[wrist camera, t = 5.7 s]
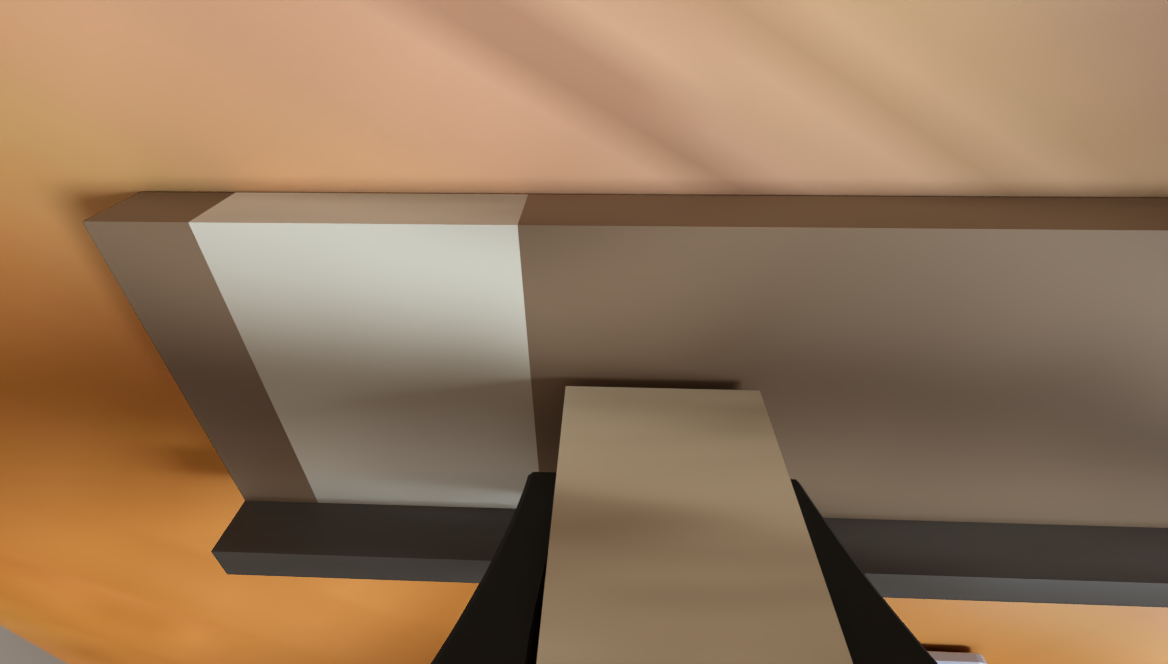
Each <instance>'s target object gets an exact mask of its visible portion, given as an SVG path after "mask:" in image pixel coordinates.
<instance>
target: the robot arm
mask: <svg viewBox="0 0 1168 664" xmlns="http://www.w3.org/2000/svg"><path fill="white" fill-rule="evenodd" d="M556 473H557V472H532V473H531V474H529V475H528V477H527V480H526V484H525V487H524V490H523V492H522V495H521V498H520V500H519V503H518V505H517V508H516V510H515V512H514V515H513V517H512V519H511V522H510V524H509V526H508V528H507V530H506V533H505V535H504V537H503V539H502V541H501V543H500V545H499V547H498V549H497V551H496V553H495V555H494V557H493V559H492V561H491V563H490V565H489V567H488V569H487V571H486V572H485V574H484V576H483V578H482V580H481V582H480V583H479V585H478V587H477V589H476V590H475V592H474V594H473V596H472V597H471V599H470V601H469V603H468V604H467V606H466V608H465V610H464V611H463V613H462V615H461V617H460V618H459V620H458V622H457V623H456V625H455V627H454V628H453V630H452V631H451V633H450V635H449V636H448V638H447V639H446V641H445V643H444V644H443V646H442V647H441V649H440V650H439V652H438V653H437V655H436V657H435V658H434V660H433V661H432V663H431V664H536V662H537V653H538V643H539V634H540V624H541V615H542V605H543V596H544V586H545V577H546V568H547V558H548V549H549V539H550V530H551V520H552V511H553V501H554V492H555V482H556ZM790 480H791V483H792V486H793V489H794V492H795V495H796V498H797V501H798V504H799V506H800V509H801V512H802V515H803V518H804V521H805V524H806V527H807V530H808V533H809V536H810V539H811V542H812V545H813V548H814V550H815V553H816V556H817V559H818V562H819V565H820V568H821V571H822V574H823V577H824V580H825V583H826V586H827V589H828V592H829V594H830V597H831V600H832V603H833V606H834V609H835V612H836V615H837V618H838V621H839V624H840V627H841V630H842V633H843V636H844V638H845V641H846V644H847V647H848V650H849V653H850V656H851V659H852V662H853V664H987V663H986V661H985V659H984V657H983V656H982V655H980V654H978V653H964V652H939V651H927V650H926V649H925V648H924V647H923V646H922V645H921V643H920V642H919V641H918V640H917V639H916V638H915V636H914V635H913V634H912V633H911V632H910V630H909V629H908V628H907V627H906V626H905V624H904V623H903V622H902V621H901V620H900V618H899V617H898V616H897V615H896V614H895V612H894V611H893V610H892V609H891V607H890V606H889V605H888V604H887V602H886V601H885V600H884V599H883V597H882V596H881V595H880V594H879V592H878V591H877V590H876V588H875V587H874V586H873V584H872V583H871V582H870V581H869V579H868V578H867V577H866V575H865V574H864V573H863V571H862V570H861V569H860V568H859V566H858V565H857V564H856V562H855V561H854V560H853V558H852V557H851V556H850V554H849V553H848V551H847V550H846V549H845V547H844V546H843V545H842V543H841V542H840V540H839V539H838V538H837V536H836V535H835V533H834V532H833V531H832V529H831V528H830V526H829V525H828V524H827V522H826V521H825V519H824V518H823V516H822V515H821V514H820V512H819V511H818V509H817V508H816V506H815V505H814V503H813V502H812V500H811V499H810V497H809V496H808V494H807V493H806V492H805V490H804V489H803V487H802V486H801V484H800V483H799V482H798V481H797V480H796V479H790Z"/></svg>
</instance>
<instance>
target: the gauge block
mask: <svg viewBox="0 0 1168 664" xmlns="http://www.w3.org/2000/svg"><path fill="white" fill-rule="evenodd" d="M536 664H853V662H852V659H851V656H850V653H849V650H848V647H847V644H846V641H845V638H844V636H843V633H842V630H841V627H840V624H839V621H838V618H837V615H836V612H835V609H834V606H833V603H832V600H831V597H830V594H829V592H828V589H827V586H826V583H825V580H824V577H823V574H822V571H821V568H820V565H819V562H818V559H817V556H816V553H815V550H814V548H813V545H812V542H811V539H810V536H809V533H808V530H807V527H806V524H805V521H804V518H803V515H802V512H801V509H800V506H799V504H798V501H797V498H796V495H795V492H794V489H793V486H792V483H791V480H790V477H789V474H788V471H787V468H786V465H785V462H784V460H783V457H782V454H781V451H780V448H779V445H778V442H777V439H776V436H775V433H774V430H773V427H772V424H771V421H770V418H769V416H768V413H767V410H766V407H765V404H764V401H763V398H762V395H761V392H760V390H717V389H673V388H629V387H585V386H566V388H565V397H564V407H563V416H562V426H561V435H560V445H559V454H558V463H557V473H556V482H555V492H554V501H553V511H552V520H551V530H550V539H549V549H548V558H547V568H546V577H545V586H544V596H543V605H542V615H541V624H540V634H539V643H538V653H537V662H536Z"/></svg>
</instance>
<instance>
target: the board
mask: <svg viewBox="0 0 1168 664" xmlns="http://www.w3.org/2000/svg"><path fill="white" fill-rule="evenodd" d="M82 222H83V224H84V226H85V228H86V229H87V231H88V233H89V234H90V236H91V238H92V239H93V241H94V243H95V245H96V246H97V248H98V250H99V251H100V253H101V255H102V257H103V258H104V260H105V262H106V263H107V265H108V267H109V269H110V270H111V272H112V274H113V275H114V277H115V279H116V280H117V282H118V284H119V286H120V287H121V289H122V291H123V292H124V294H125V296H126V298H127V299H128V301H129V303H130V304H131V306H132V308H133V310H134V311H135V313H136V315H137V316H138V318H139V320H140V321H141V323H142V325H143V327H144V328H145V330H146V332H147V333H148V335H149V337H150V339H151V340H152V342H153V344H154V345H155V347H156V349H157V351H158V352H159V354H160V356H161V357H162V359H163V361H164V362H165V364H166V366H167V368H168V369H169V371H170V373H171V374H172V376H173V378H174V380H175V381H176V383H177V385H178V386H179V388H180V390H181V392H182V393H183V395H184V397H185V398H186V400H187V402H188V403H189V405H190V407H191V409H192V410H193V412H194V414H195V415H196V417H197V419H198V421H199V422H200V424H201V426H202V427H203V429H204V431H205V433H206V434H207V436H208V438H209V439H210V441H211V443H212V444H213V446H214V448H215V450H216V451H217V453H218V455H219V456H220V458H221V460H222V462H223V463H224V465H225V467H226V468H227V470H228V472H229V474H230V475H231V477H232V479H233V480H234V482H235V484H236V485H237V487H238V489H239V491H240V492H241V494H242V496H243V497H244V499H245V502H244V503H243V505H242V506H241V508H240V509H239V511H238V512H237V514H236V515H235V517H234V518H233V520H232V521H231V523H230V524H229V526H228V527H227V529H226V530H225V532H224V533H223V535H222V536H221V538H220V539H219V541H218V542H217V544H216V545H215V547H214V548H213V550H212V551H211V552H212V553H213V555H214V556H215V557H216V559H217V560H218V562H219V563H220V565H221V566H222V567H223V569H224V570H225V572H226V573H227V574H236V575H265V576H293V577H321V578H350V579H378V580H406V581H435V582H463V583H480V582H481V580H482V578H483V576H484V574H485V572H486V571H487V569H488V567H489V565H490V563H491V561H492V559H493V557H494V555H495V553H496V551H497V549H498V547H499V545H500V543H501V541H502V539H503V537H504V535H505V533H506V530H507V528H508V526H509V524H510V522H511V519H512V517H513V515H514V512H515V510H516V508H517V505H518V503H519V500H520V498H521V495H522V492H523V490H524V487H525V484H526V480H527V477H528V475H529V474H531V473H532V472H557V463H558V454H559V445H560V435H561V426H562V416H563V407H564V397H565V388H566V386H585V387H629V388H673V389H717V390H760V392H761V395H762V398H763V401H764V404H765V407H766V410H767V413H768V416H769V418H770V421H771V424H772V427H773V430H774V433H775V436H776V439H777V442H778V445H779V448H780V451H781V454H782V457H783V460H784V462H785V465H786V468H787V471H788V474H789V477H790V479H796V480H797V481H798V482H799V483H800V484H801V486H802V487H803V489H804V490H805V492H806V493H807V494H808V496H809V497H810V499H811V500H812V502H813V503H814V505H815V506H816V508H817V509H818V511H819V512H820V514H821V515H822V516H823V518H824V519H825V521H826V522H827V524H828V525H829V526H830V528H831V529H832V531H833V532H834V533H835V535H836V536H837V538H838V539H839V540H840V542H841V543H842V545H843V546H844V547H845V549H846V550H847V551H848V553H849V554H850V556H851V557H852V558H853V560H854V561H855V562H856V564H857V565H858V566H859V568H860V569H861V570H862V571H863V573H864V574H865V575H866V577H867V578H868V579H869V581H870V582H871V583H872V584H873V586H874V587H875V588H876V590H877V591H878V592H879V594H880V595H881V596H882V597H888V598H916V599H945V600H973V601H1001V602H1030V603H1058V604H1086V605H1115V606H1143V607H1168V198H1082V197H917V196H752V195H587V194H422V193H257V192H140V193H138V194H136V195H134V196H132V197H130V198H128V199H126V200H124V201H122V202H120V203H118V204H116V205H114V206H112V207H110V208H108V209H106V210H104V211H102V212H100V213H98V214H96V215H94V216H92V217H90V218H88V219H86V220H84V221H82Z"/></svg>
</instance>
